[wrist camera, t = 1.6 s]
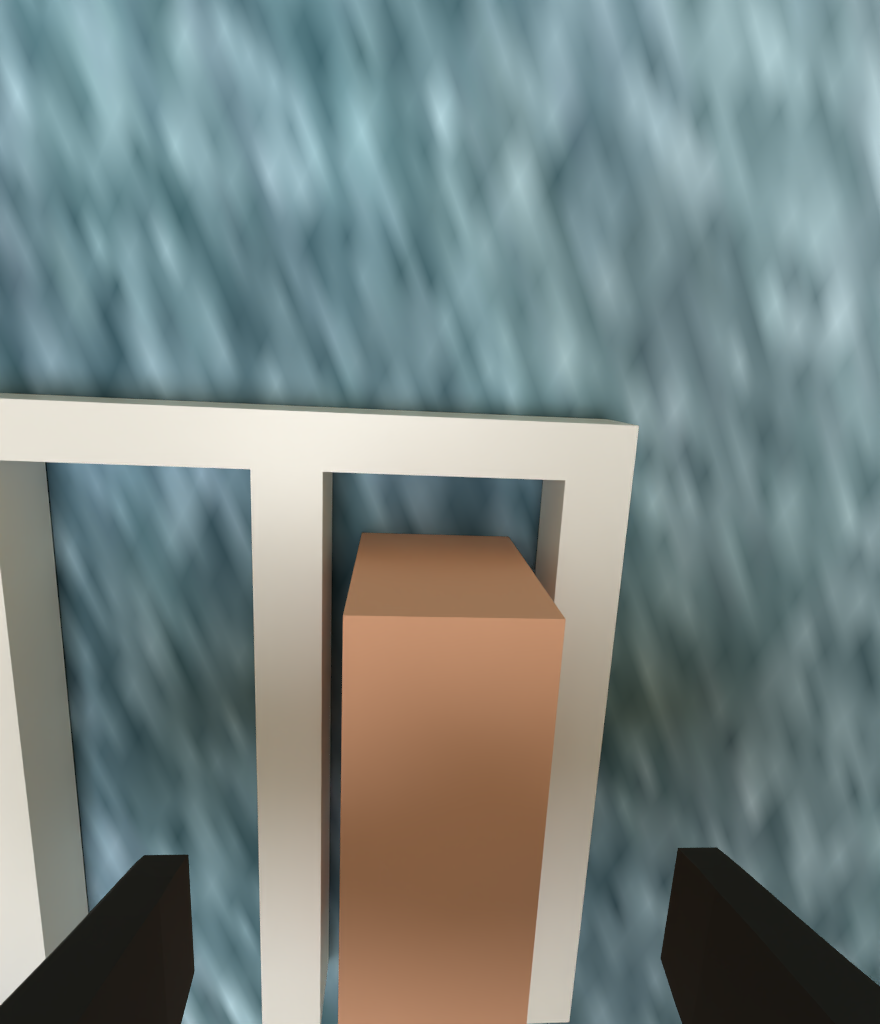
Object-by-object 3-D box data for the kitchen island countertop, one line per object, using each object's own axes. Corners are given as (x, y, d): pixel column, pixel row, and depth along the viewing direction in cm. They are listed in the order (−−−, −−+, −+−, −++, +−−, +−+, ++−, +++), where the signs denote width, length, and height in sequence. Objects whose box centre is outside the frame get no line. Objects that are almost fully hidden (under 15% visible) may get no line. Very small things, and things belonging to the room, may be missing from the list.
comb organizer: (607, 419, 12) (638, 425, 10) (551, 954, 15) (569, 1022, 13) (-352, 377, 11) (-479, 377, 9) (-214, 972, 14) (-294, 1050, 12)
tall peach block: (507, 534, 13) (565, 619, 8) (481, 896, 15) (516, 1121, 10) (362, 531, 12) (343, 615, 8) (355, 898, 14) (337, 1130, 10)
